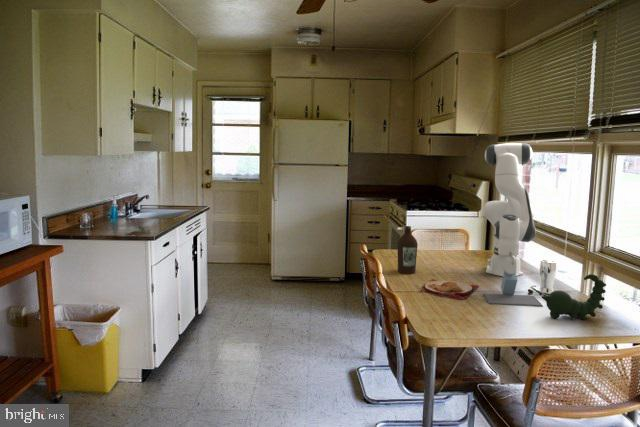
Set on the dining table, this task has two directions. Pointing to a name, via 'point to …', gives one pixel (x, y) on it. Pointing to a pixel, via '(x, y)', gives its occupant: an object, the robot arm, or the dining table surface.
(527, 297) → the charcoal mat
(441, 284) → the plate with food
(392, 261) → the dining table surface
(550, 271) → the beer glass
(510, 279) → the slate block
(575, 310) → the toy figurine
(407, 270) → the brown bottle
